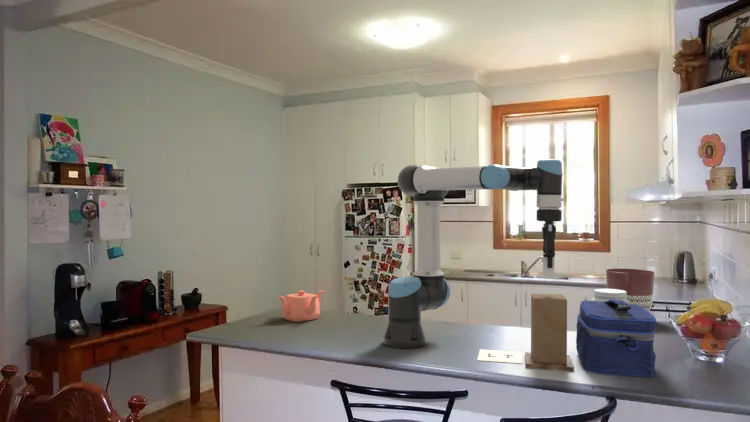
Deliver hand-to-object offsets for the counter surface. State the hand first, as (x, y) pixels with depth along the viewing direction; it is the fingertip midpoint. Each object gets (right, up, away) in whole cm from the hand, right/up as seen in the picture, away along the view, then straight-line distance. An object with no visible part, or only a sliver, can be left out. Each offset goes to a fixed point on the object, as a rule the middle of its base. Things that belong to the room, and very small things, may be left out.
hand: (548, 276), depth 174 cm
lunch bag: (+21, -28, 0) cm, 35 cm away
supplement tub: (+33, -28, +32) cm, 54 cm away
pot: (-87, -27, +68) cm, 113 cm away
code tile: (-13, -28, +8) cm, 32 cm away
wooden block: (0, -27, 0) cm, 27 cm away
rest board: (0, -28, 0) cm, 28 cm away
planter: (+58, -28, +70) cm, 95 cm away
